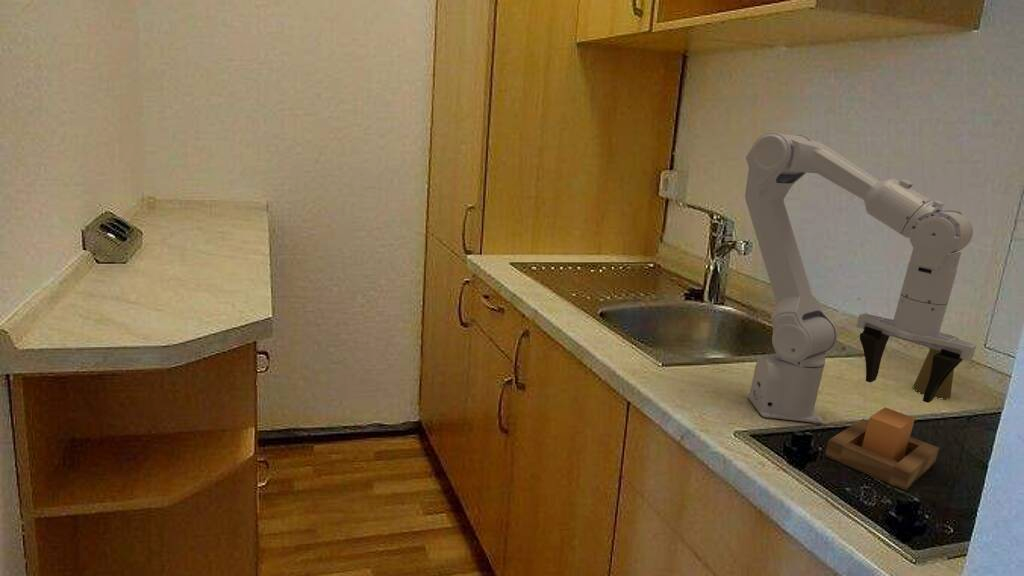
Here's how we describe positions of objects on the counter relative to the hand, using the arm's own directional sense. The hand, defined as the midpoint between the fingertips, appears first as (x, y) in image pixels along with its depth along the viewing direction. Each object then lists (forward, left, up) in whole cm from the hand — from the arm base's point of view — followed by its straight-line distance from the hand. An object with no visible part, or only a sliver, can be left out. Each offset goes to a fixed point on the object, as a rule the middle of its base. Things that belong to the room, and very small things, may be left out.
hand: (898, 390), depth 99 cm
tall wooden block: (-2, -3, -9) cm, 10 cm away
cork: (+22, +27, -10) cm, 36 cm away
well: (-2, -3, -9) cm, 10 cm away
